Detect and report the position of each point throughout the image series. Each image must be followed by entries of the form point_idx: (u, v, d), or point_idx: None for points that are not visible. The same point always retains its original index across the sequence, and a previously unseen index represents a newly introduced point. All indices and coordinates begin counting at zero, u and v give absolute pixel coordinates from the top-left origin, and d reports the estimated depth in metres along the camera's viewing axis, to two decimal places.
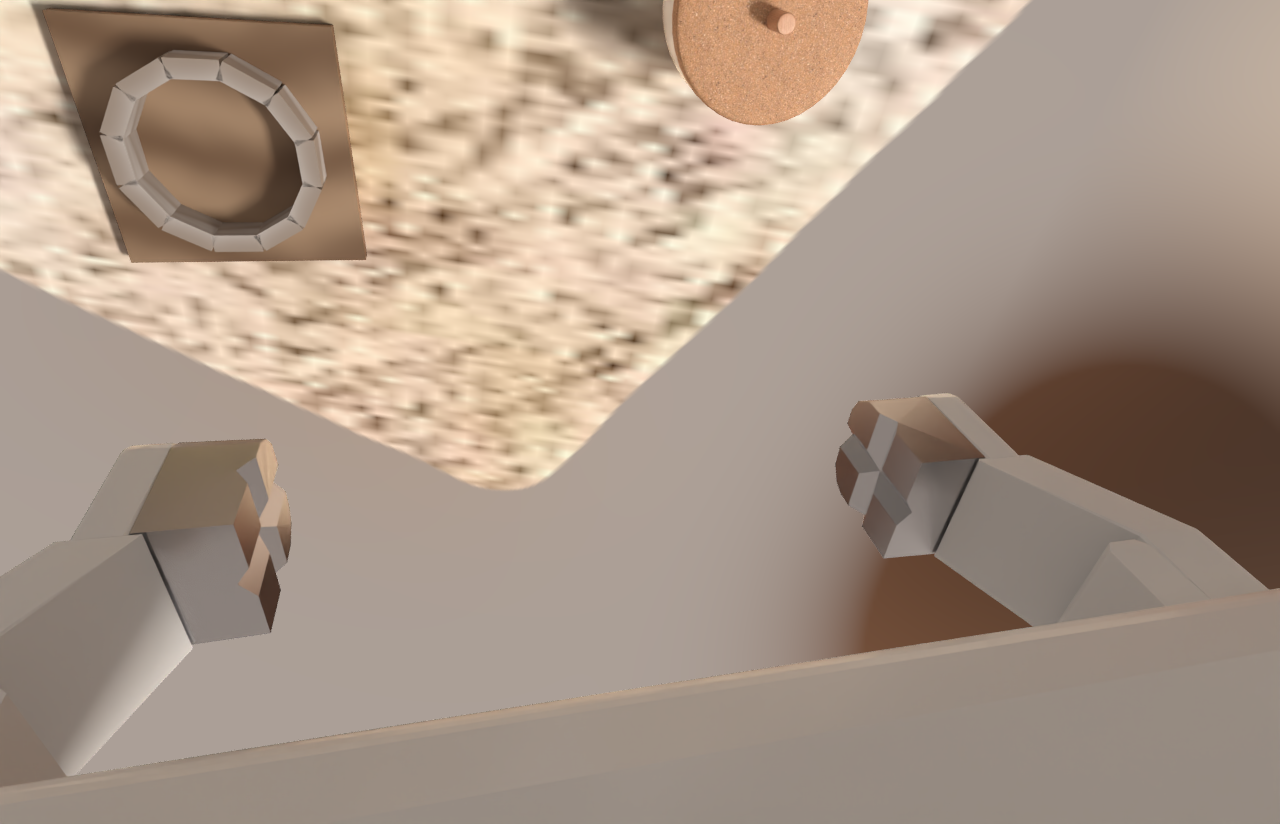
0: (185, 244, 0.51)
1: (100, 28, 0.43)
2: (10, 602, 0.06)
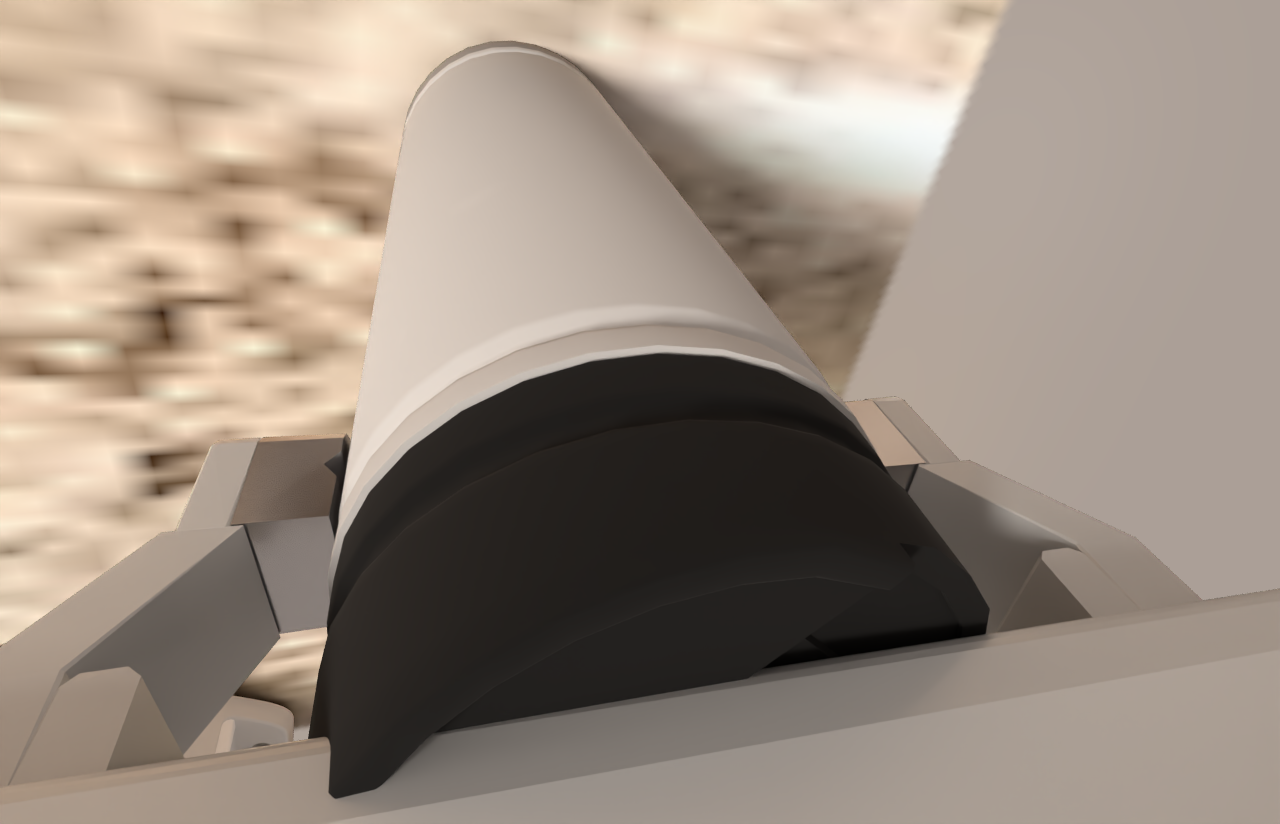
0: None
1: None
2: (129, 589, 0.06)
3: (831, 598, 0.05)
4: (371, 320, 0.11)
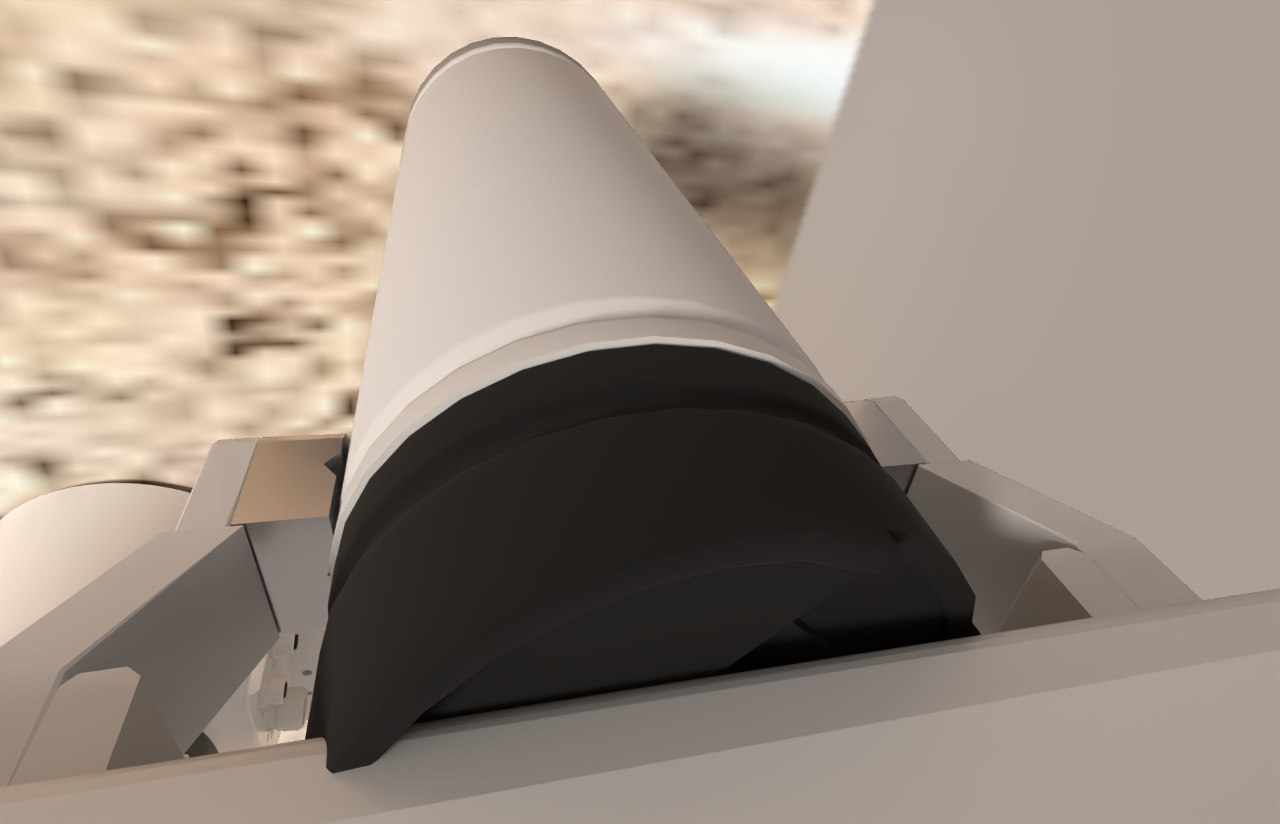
0: None
1: None
2: (128, 590, 0.06)
3: (818, 582, 0.05)
4: (373, 312, 0.11)
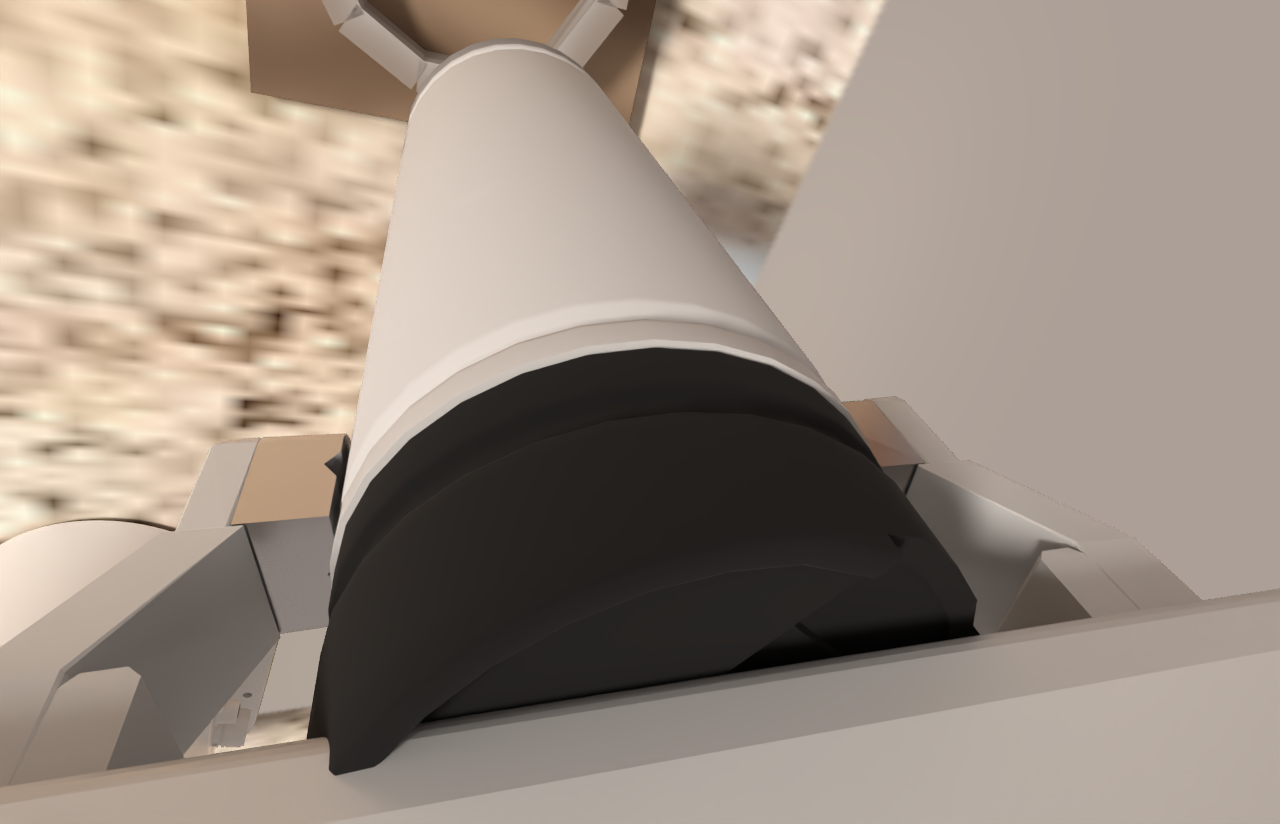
0: None
1: None
2: (129, 589, 0.06)
3: (819, 586, 0.05)
4: None
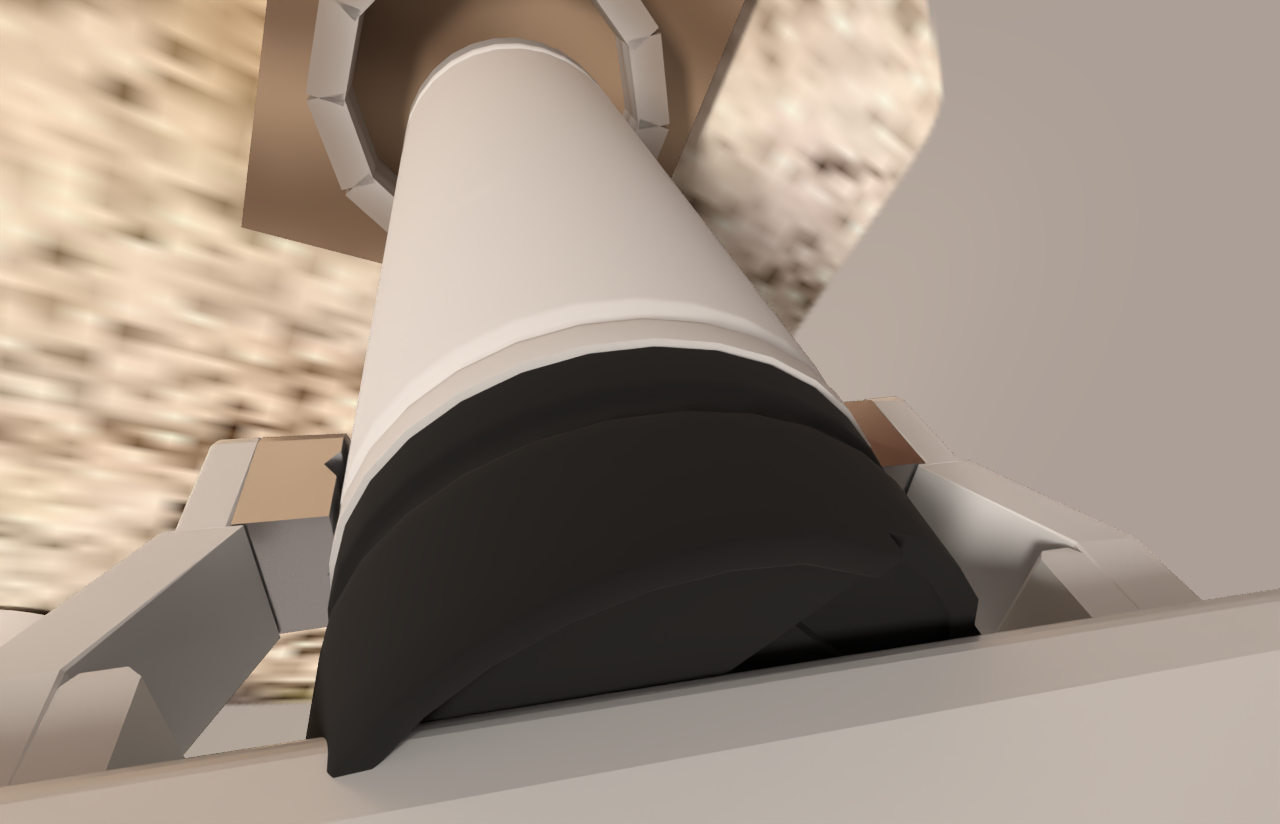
0: None
1: None
2: (129, 589, 0.06)
3: (820, 586, 0.05)
4: (373, 314, 0.11)
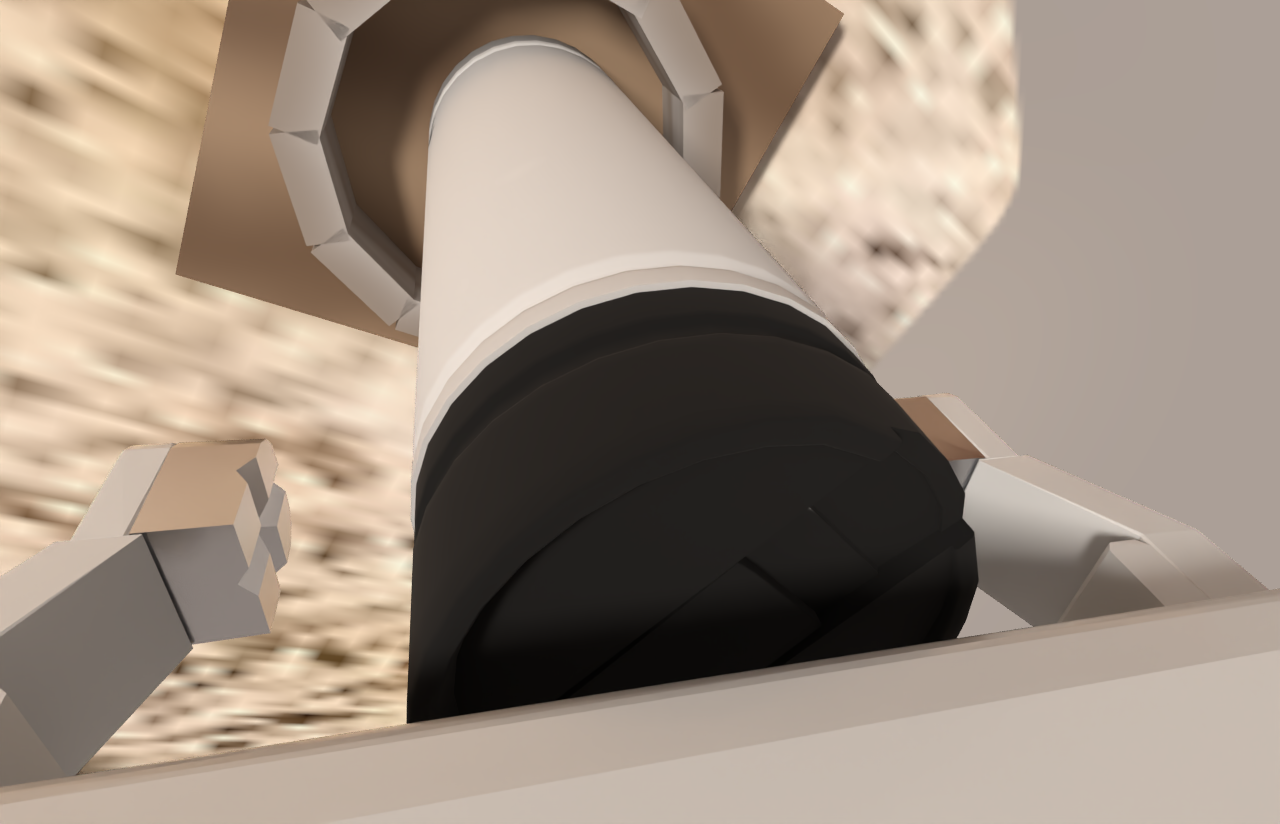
0: None
1: None
2: (10, 602, 0.06)
3: (835, 468, 0.06)
4: (422, 283, 0.12)
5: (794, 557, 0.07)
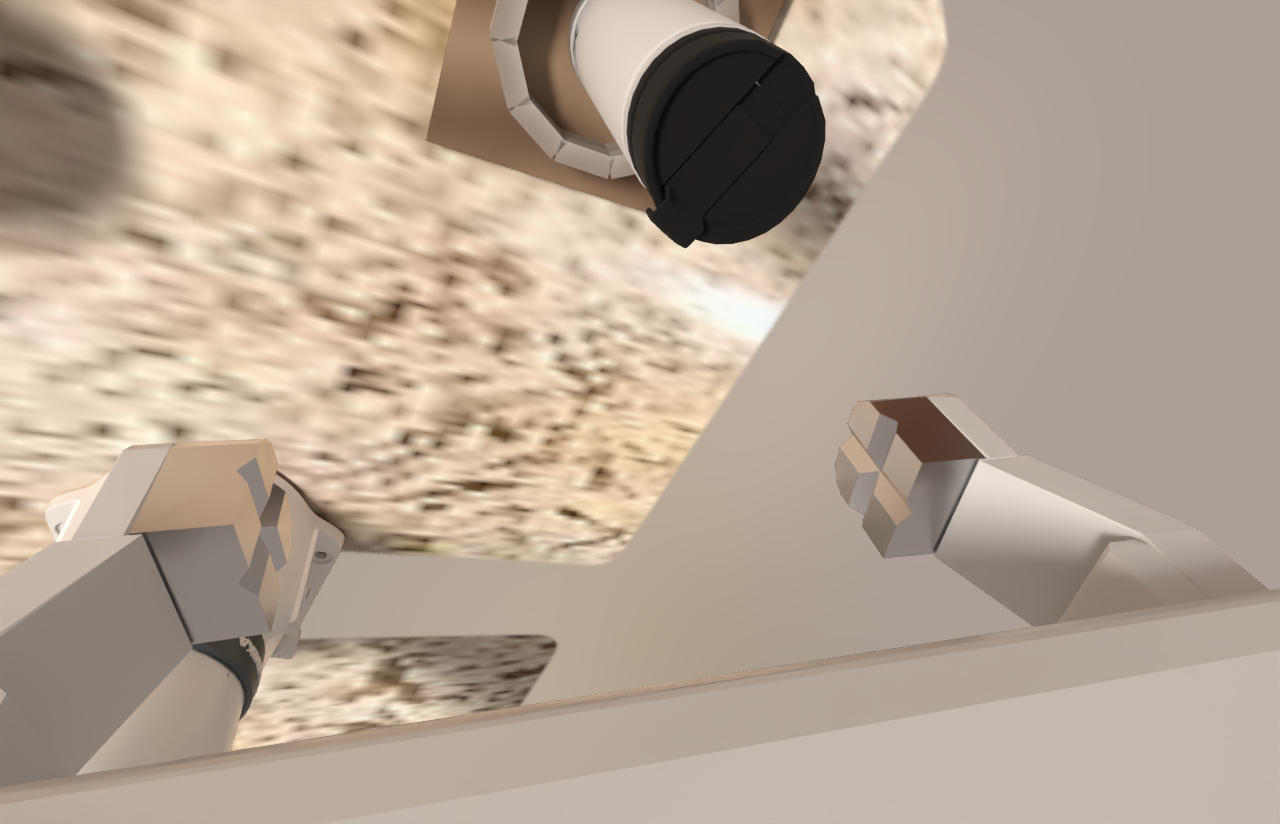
0: None
1: (651, 199, 0.43)
2: (10, 602, 0.06)
3: (764, 63, 0.21)
4: (602, 77, 0.28)
5: (758, 108, 0.22)
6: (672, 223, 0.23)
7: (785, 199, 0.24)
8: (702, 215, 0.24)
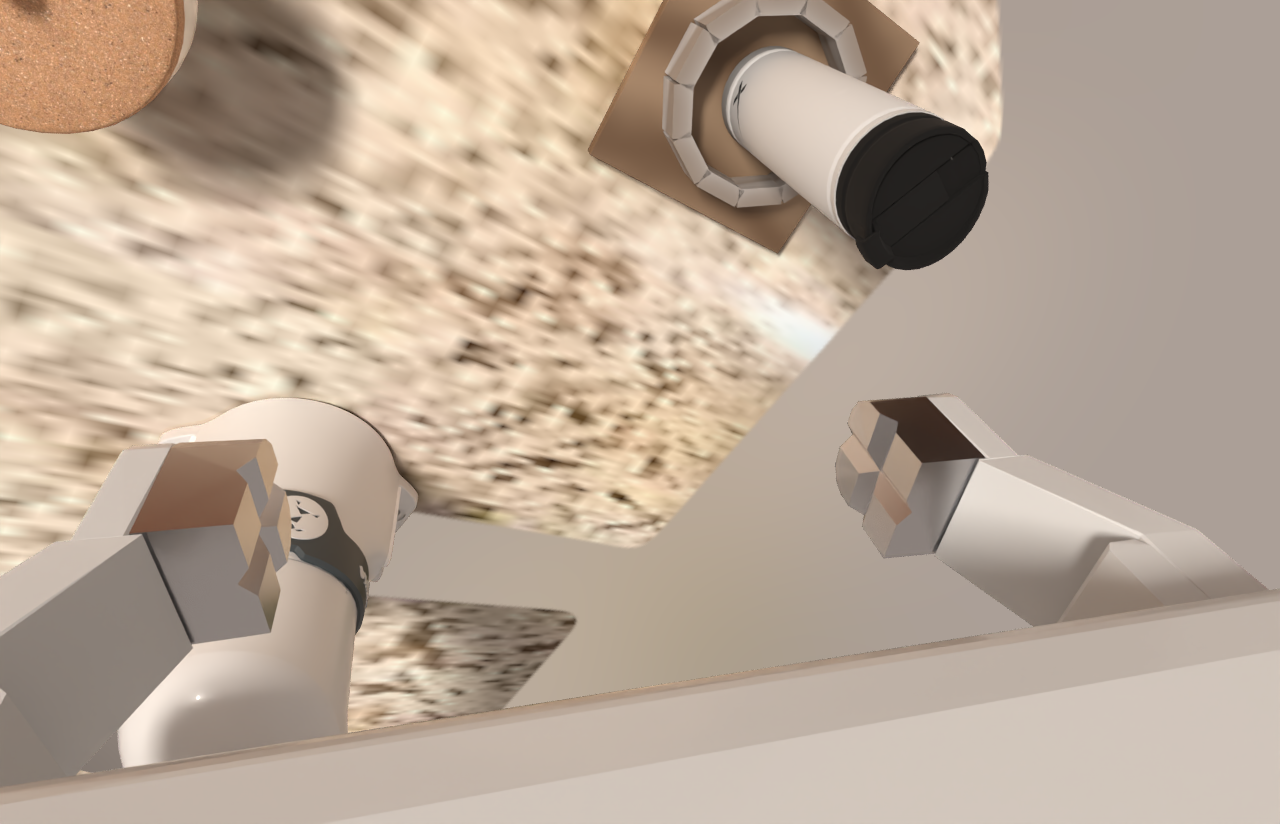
0: (865, 31, 0.45)
1: (755, 228, 0.51)
2: (10, 602, 0.06)
3: (961, 144, 0.30)
4: (796, 131, 0.36)
5: (946, 175, 0.31)
6: (876, 249, 0.31)
7: (947, 242, 0.32)
8: (890, 246, 0.32)
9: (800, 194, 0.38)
